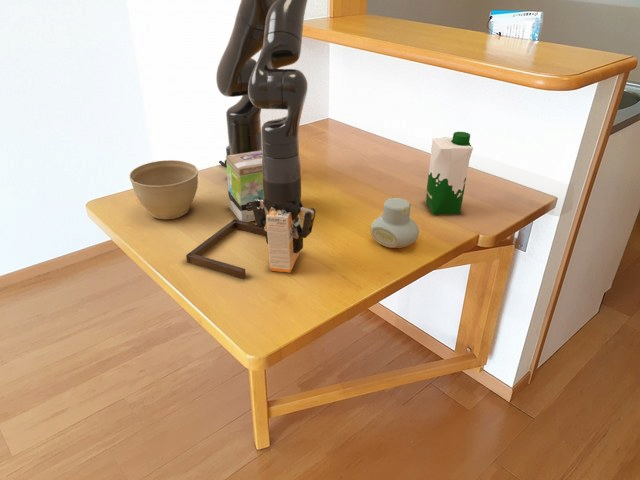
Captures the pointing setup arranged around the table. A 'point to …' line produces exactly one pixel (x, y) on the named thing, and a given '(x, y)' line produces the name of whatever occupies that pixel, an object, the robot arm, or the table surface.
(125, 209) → the table surface
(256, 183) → the tea box
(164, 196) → the planter bowl
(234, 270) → the bay
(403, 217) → the air freshener
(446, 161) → the milk carton
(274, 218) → the supplement box
